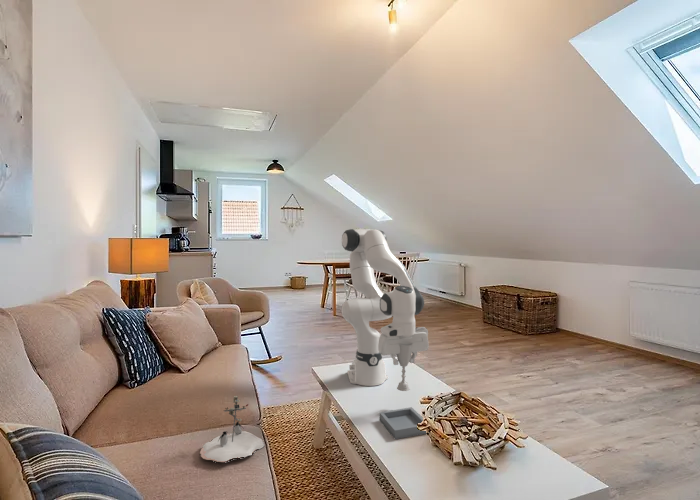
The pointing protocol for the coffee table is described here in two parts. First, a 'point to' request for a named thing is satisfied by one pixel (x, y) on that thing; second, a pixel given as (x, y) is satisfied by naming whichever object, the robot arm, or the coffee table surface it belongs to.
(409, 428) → the tray
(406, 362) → the chalice
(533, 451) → the coffee table surface
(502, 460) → the coffee table surface
